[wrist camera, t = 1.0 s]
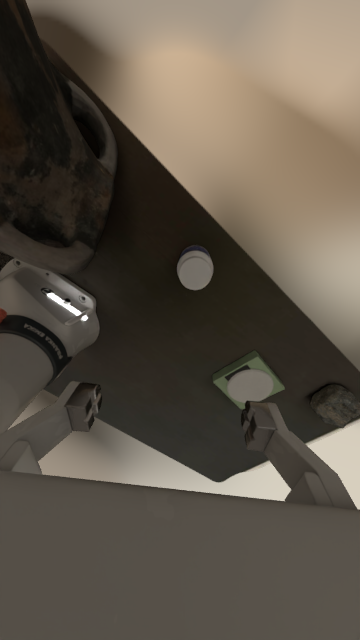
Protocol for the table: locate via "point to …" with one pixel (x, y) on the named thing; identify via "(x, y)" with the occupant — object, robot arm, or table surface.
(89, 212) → the bowl
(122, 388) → the table surface
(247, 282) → the table surface
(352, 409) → the rock
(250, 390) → the scale
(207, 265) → the pill bottle
